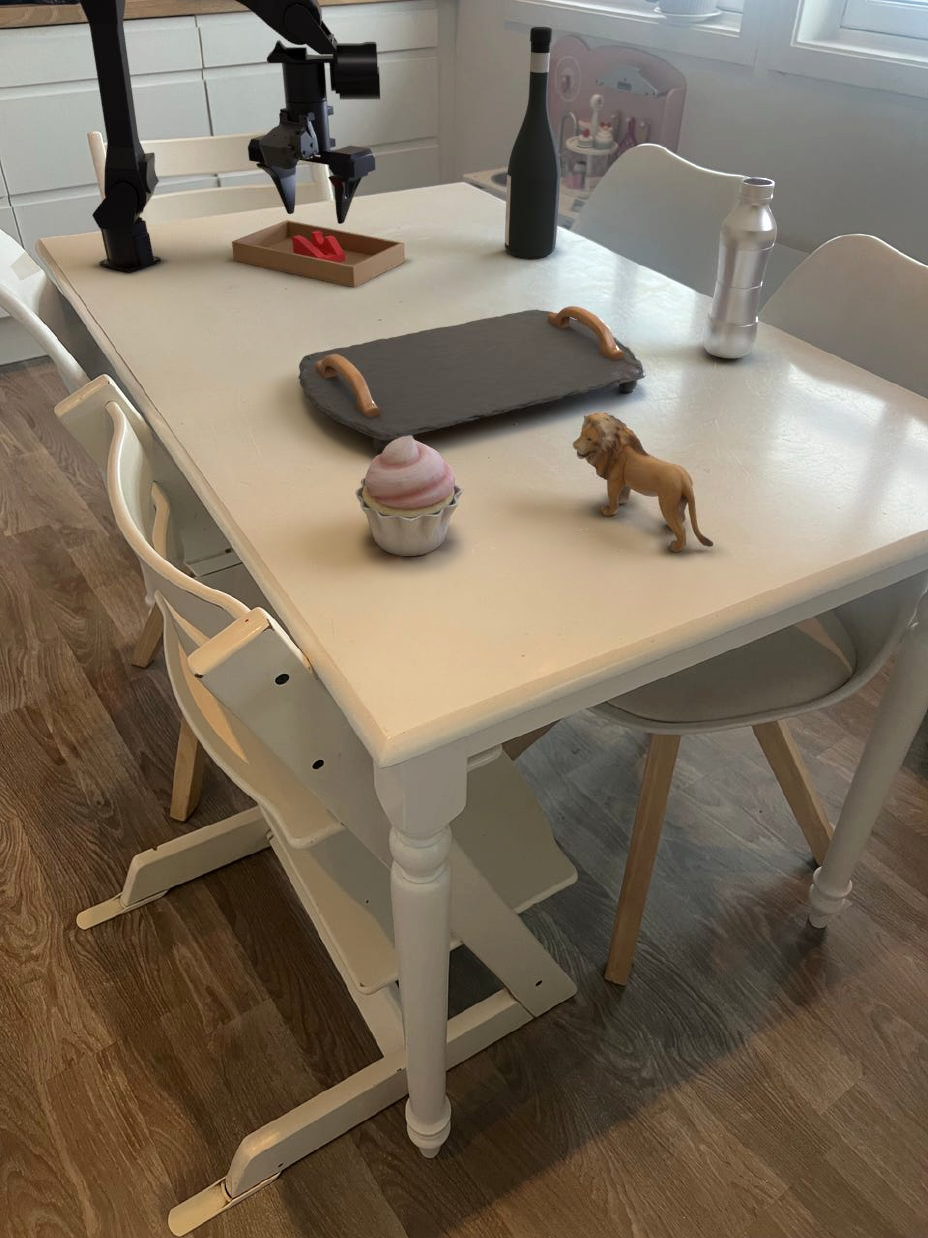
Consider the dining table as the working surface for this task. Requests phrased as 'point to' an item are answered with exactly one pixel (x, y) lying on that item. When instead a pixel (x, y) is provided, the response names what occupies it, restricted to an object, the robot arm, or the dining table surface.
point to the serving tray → (466, 372)
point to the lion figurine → (637, 473)
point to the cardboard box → (277, 253)
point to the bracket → (319, 247)
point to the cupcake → (409, 497)
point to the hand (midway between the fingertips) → (315, 218)
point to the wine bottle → (534, 165)
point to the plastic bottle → (741, 271)
